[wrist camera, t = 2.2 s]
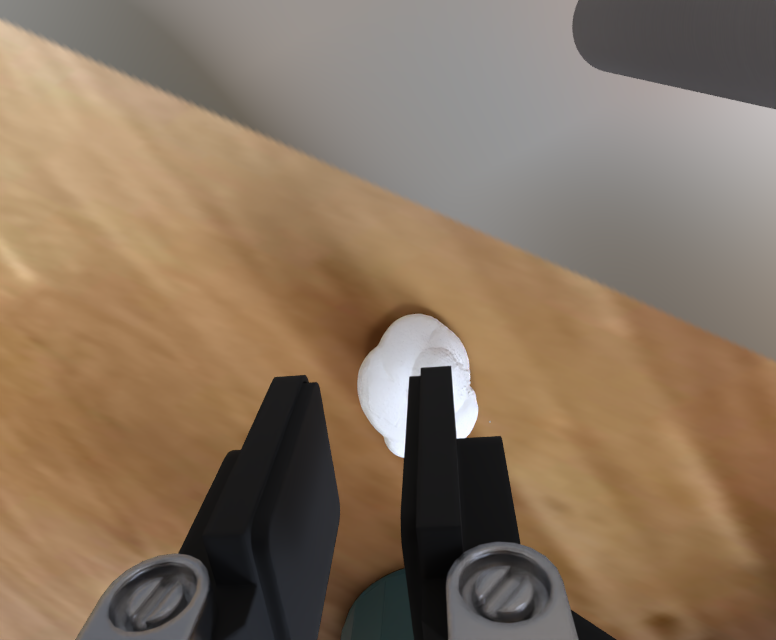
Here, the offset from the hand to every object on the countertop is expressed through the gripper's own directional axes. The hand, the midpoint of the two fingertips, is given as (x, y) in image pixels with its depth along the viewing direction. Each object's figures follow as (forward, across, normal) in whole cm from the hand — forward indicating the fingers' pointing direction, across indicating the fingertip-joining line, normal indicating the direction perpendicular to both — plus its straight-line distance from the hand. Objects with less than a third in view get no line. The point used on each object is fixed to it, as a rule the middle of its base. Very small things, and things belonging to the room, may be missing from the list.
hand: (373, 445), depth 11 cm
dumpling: (+17, 0, +8) cm, 19 cm away
